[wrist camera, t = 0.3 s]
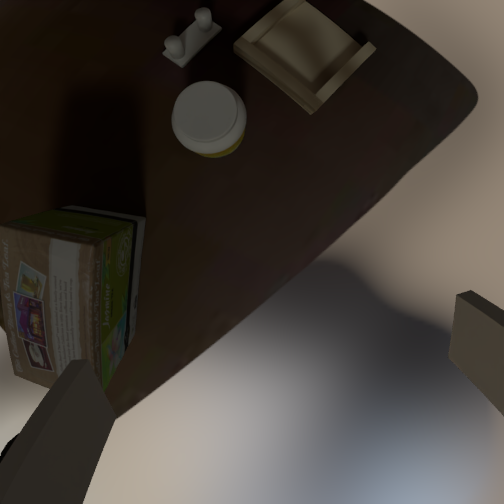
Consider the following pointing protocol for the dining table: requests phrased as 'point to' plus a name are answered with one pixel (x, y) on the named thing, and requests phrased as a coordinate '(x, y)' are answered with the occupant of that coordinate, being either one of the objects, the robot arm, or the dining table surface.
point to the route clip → (191, 38)
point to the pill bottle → (209, 119)
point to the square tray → (302, 52)
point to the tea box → (70, 290)
